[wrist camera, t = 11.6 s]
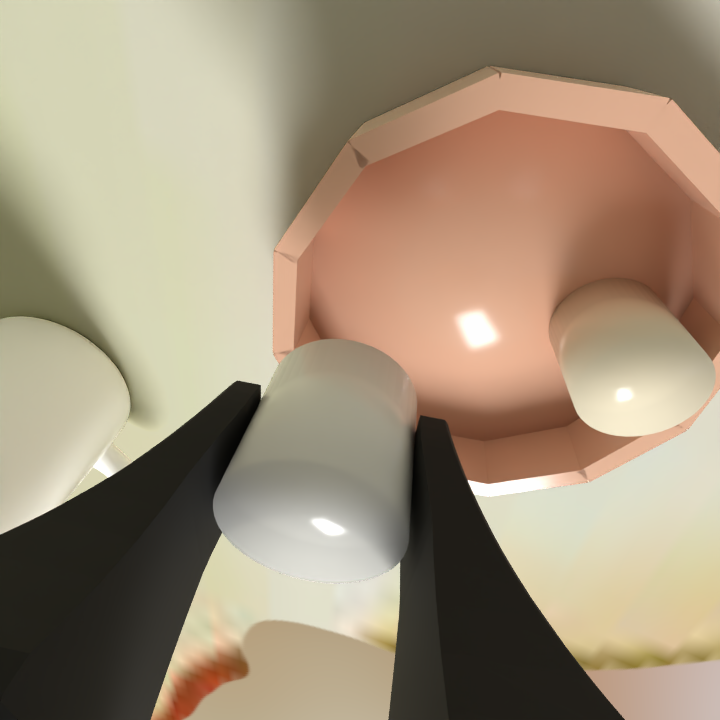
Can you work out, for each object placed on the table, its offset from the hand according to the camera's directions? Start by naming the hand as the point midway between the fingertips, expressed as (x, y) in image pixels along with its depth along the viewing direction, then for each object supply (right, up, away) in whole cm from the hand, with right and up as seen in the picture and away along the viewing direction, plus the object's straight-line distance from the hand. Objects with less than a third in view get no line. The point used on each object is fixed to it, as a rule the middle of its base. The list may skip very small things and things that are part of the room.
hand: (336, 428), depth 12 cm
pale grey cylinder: (0, +1, +1) cm, 1 cm away
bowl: (+6, +4, +7) cm, 10 cm away
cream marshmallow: (+10, +3, +6) cm, 12 cm away
